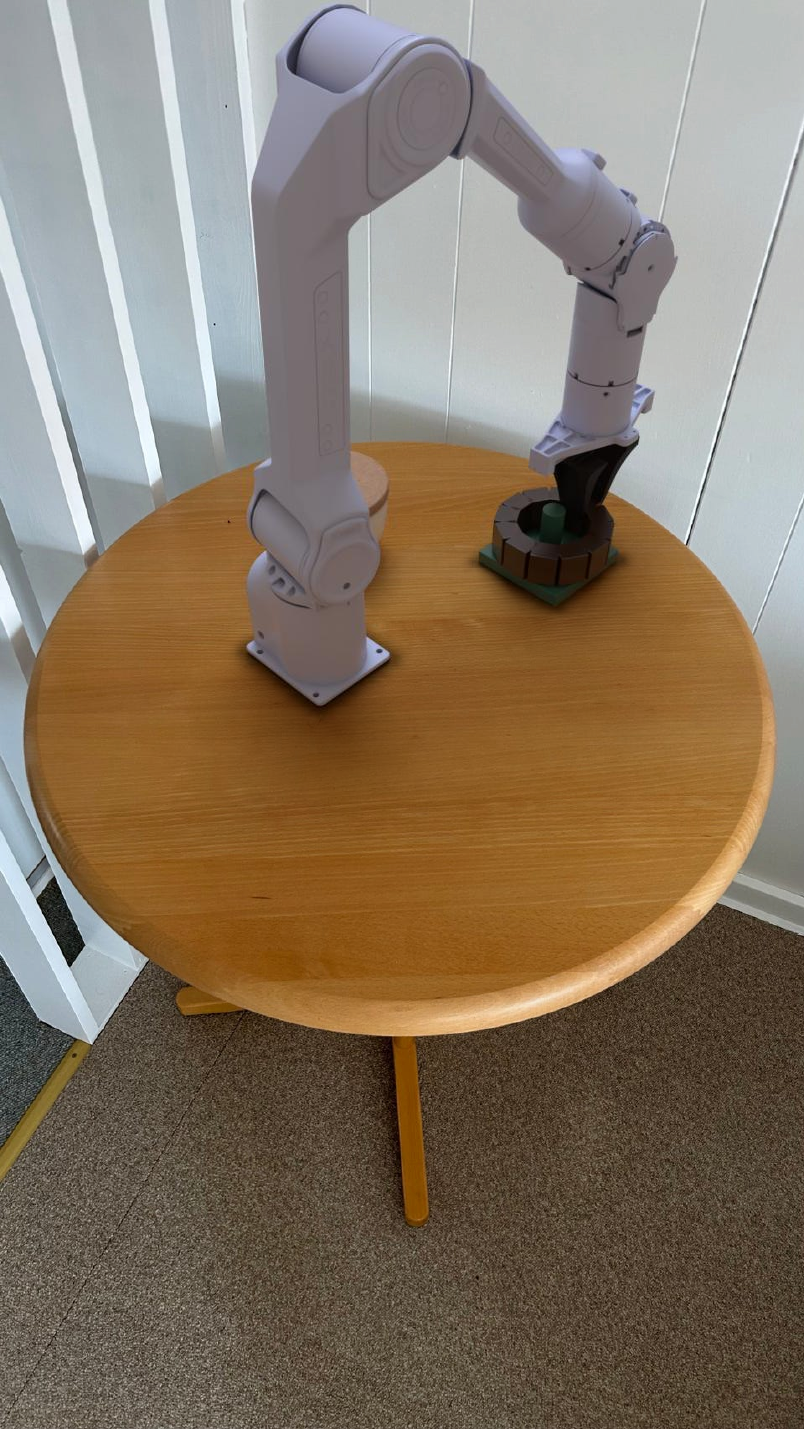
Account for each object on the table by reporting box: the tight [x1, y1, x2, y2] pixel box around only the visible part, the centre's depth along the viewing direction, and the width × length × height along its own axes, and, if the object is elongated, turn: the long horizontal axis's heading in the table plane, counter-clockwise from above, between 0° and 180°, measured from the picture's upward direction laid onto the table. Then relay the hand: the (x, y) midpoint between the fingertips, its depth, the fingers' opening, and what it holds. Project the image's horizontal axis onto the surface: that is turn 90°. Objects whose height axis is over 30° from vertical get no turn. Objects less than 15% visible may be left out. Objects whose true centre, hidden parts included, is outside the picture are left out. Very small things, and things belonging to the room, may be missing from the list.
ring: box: [491, 486, 616, 586], centre depth 87 cm, size 10×10×3 cm
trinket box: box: [350, 450, 390, 544], centre depth 86 cm, size 11×11×9 cm
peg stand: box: [478, 503, 620, 608], centre depth 87 cm, size 9×9×6 cm
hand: (581, 508), depth 88 cm, fingers closed on ring, 2 cm apart
